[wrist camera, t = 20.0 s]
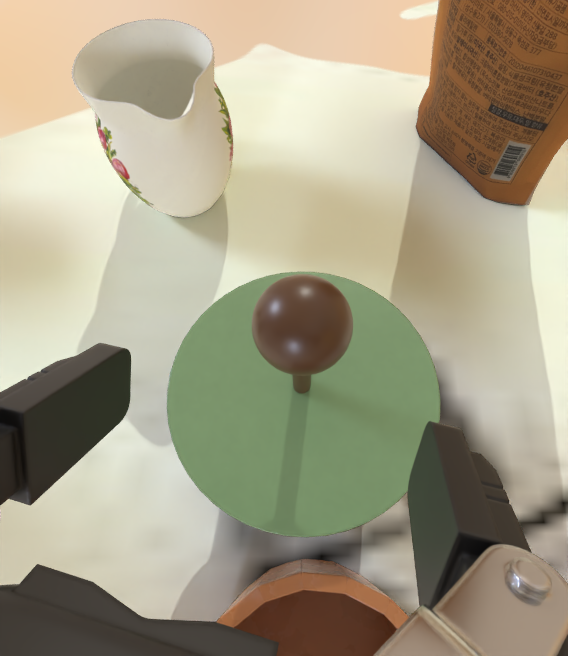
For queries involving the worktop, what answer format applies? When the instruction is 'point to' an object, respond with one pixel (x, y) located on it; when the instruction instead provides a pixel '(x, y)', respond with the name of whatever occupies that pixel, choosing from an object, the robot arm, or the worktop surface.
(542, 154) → the pancake mix bag
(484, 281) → the worktop surface
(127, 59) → the pitcher
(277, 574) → the clay pot
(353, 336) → the lid
